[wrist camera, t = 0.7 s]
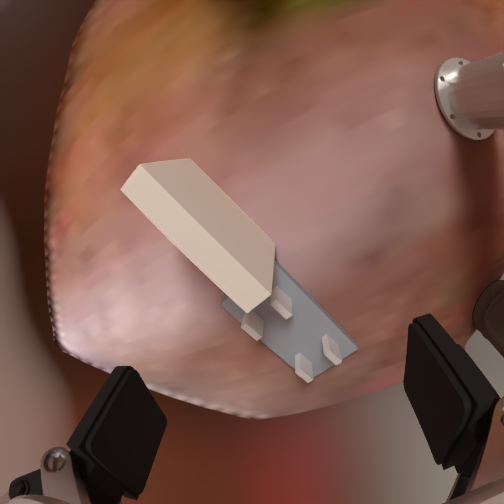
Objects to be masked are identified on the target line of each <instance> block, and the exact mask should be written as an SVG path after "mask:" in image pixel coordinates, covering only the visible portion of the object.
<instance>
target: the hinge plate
mask: <svg viewBox="0 0 504 504" xmlns="http://www.w3.org/2000/svg"><path fill="white" fill-rule="evenodd" d="M220 305H221V306H222V307H223V308H224V309H225V310H226V311H227V312H229V313H230V314H231V315H232V316H233V317H234V318H235V319H236V320H238V321H239V322H240V323H241V328H242V329H243V330H245V331H246V332H247V333H248V334H249V335H250V336H251V337H253V338H254V339H255V340H256V341H258V340H260V341H262V342H263V343H264V344H265V345H266V346H268V347H269V348H270V349H271V350H272V351H273V352H275V353H276V354H277V355H278V356H279V357H281V358H282V359H283V360H284V361H285V362H287V363H288V364H289V365H290V366H292V367H293V368H294V369H295V373H296V374H297V375H298V376H300V377H301V378H302V379H304V380H305V381H306V382H307V383H309V382H311V381H312V380H313V378H314V377H316V376H317V375H319V374H320V373H322V372H324V371H325V370H327V369H328V368H330V367H332V366H333V365H336V366H337V365H338V364H340V363H341V362H342V359H344V358H345V357H347V356H348V355H350V354H351V353H353V352H354V351H356V350H357V349H358V346H357V343H356V342H355V341H354V340H353V339H352V338H351V337H350V336H349V335H348V334H347V333H346V331H345V330H344V329H343V328H342V327H341V326H340V325H339V324H338V323H337V322H336V321H335V320H334V319H333V318H332V317H331V316H330V315H329V314H328V313H327V312H326V311H325V310H324V309H323V308H322V307H321V306H320V305H319V304H318V303H317V302H316V301H315V300H314V299H313V298H312V296H311V295H310V294H309V293H308V292H307V291H306V290H305V289H304V288H303V287H302V286H301V285H300V284H299V283H298V282H297V281H296V280H295V279H294V278H293V277H292V276H291V275H290V274H289V273H288V272H287V271H286V270H285V269H284V268H283V267H282V266H281V265H280V264H279V263H278V262H277V261H276V260H275V259H274V270H273V281H272V292H271V295H270V296H269V297H267V298H266V299H265V300H264V301H262V302H261V303H260V304H259V305H257V306H256V307H255V308H254V309H252V310H251V311H250V312H248V313H246V312H245V311H244V310H243V309H242V308H240V307H239V306H238V305H237V304H236V303H235V302H234V301H233V300H232V299H231V298H230V297H228V296H226V297H225V298H224V299H223V300H222V302H221V304H220Z"/></svg>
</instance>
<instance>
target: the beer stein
mask: <svg viewBox="0 0 504 504" xmlns="http://www.w3.org/2000/svg"><path fill="white" fill-rule="evenodd" d="M473 323H474V326H475V327H476V329H477V330H479V331H480V332H481V333H482V334H483V336H484V337H485V338H486V339H488V340H489V341H490V342H491V344H492V345H493V346H494V347H495V348H496V349H497V351H499V353H500V354H501V355H502V356H503V357H504V280H499V281H495V282H494V283H492V284H491V285H490V286H489V287H487V288H486V289H485V291H484V292H483V293H482V294H481V296H480V298H479V300H478V302H477V303H476V306H475V309H474V313H473Z"/></svg>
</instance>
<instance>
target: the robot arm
mask: <svg viewBox="0 0 504 504" xmlns="http://www.w3.org/2000/svg"><path fill="white" fill-rule="evenodd" d="M435 94H436V99H437V102H438V105H439V108H440V110H441V112H442V114H443V116H444V117H445V119H446V120H447V122H448V123H449V124H450V126H451V127H452V128H453V129H454V130H455V131H456V132H457V133H459V134H460V135H462V136H463V137H465V138H468V139H471V140H483V139H486V138H488V137H489V136H490V135H491V134H492V133H493V132H494V130H495V129H500V130H504V51H503V52H500V53H497V54H494V55H491V56H488V57H485V58H482V59H479V60H477V61H474V62H469V61H467V60H465V59H461V58H452V59H449V60H447V61H445V62H443V63H442V64H441V65H440V67H439V68H438V70H437V72H436V75H435ZM404 389H405V392H406V394H407V396H408V398H409V401H410V403H411V405H412V407H413V409H414V412H415V414H416V416H417V418H418V421H419V423H420V425H421V428H422V430H423V432H424V435H425V437H426V440H427V442H428V445H429V447H430V449H431V452H432V455H433V457H434V460H435V462H436V463H437V464H438V465H439V464H442V467H443V469H444V470H445V469H447V468H450V467H452V466H455V468H456V471H457V473H458V475H457V478H456V480H455V483H454V485H453V487H452V489H451V492H450V494H449V496H448V498H447V500H446V502H445V503H443V504H504V397H502V398H500V397H499V395H498V394H497V392H496V391H495V390H494V388H493V387H492V386H491V384H490V383H489V381H488V380H487V379H486V377H485V376H484V375H483V373H482V372H481V371H480V369H479V368H478V367H477V365H476V364H475V363H474V361H473V360H472V359H471V358H470V356H469V355H468V354H467V353H466V351H465V350H464V349H463V348H462V347H461V346H460V345H458V344H456V343H455V342H454V340H453V339H452V338H451V337H450V336H449V334H448V333H447V332H446V331H445V330H444V328H443V327H442V326H441V325H440V324H439V323H438V321H437V320H436V319H435V318H434V317H433V316H432V315H431V314H426V315H423V316H420V317H416V318H414V319H413V323H412V324H410V325H409V327H408V342H407V354H406V365H405V374H404ZM166 425H167V419H166V417H165V415H164V413H163V412H162V410H161V409H160V407H159V406H158V404H157V403H156V401H155V400H154V398H153V396H152V395H151V393H150V392H149V390H148V388H147V387H146V385H145V383H144V382H143V380H142V378H141V377H140V375H139V373H138V372H137V371H136V370H134V368H133V367H131V366H117V367H115V368H114V370H113V371H112V373H111V374H110V376H109V377H108V379H107V380H106V382H105V383H104V385H103V386H102V388H101V390H100V391H99V393H98V394H97V396H96V397H95V399H94V400H93V402H92V404H91V405H90V407H89V408H88V410H87V411H86V413H85V415H84V416H83V418H82V419H81V421H80V423H79V424H78V426H77V427H76V429H75V431H74V432H73V434H72V436H71V437H70V439H69V441H68V442H67V445H68V447H69V448H71V451H70V452H69V451H68V450H67V449H66V448H64V447H53V448H51V449H49V450H48V451H47V452H46V453H45V454H44V455H43V457H42V459H41V462H40V469H38V470H36V471H34V472H31V473H29V474H26V475H23V476H21V477H19V478H17V479H15V480H14V481H12V482H11V484H10V488H9V493H8V492H7V493H5V494H4V495H3V496H1V497H0V504H123V503H122V500H121V497H122V495H123V496H125V497H127V498H131V499H135V500H137V499H138V496H139V494H141V493H142V492H143V490H144V487H145V485H146V481H147V479H148V476H149V473H150V470H151V467H152V464H153V462H154V459H155V456H156V453H157V450H158V448H159V445H160V442H161V439H162V437H163V433H164V431H165V428H166Z"/></svg>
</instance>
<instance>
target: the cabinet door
mask: <svg viewBox="0 0 504 504" xmlns="http://www.w3.org/2000/svg"><path fill="white" fill-rule="evenodd" d="M121 191H122V192H123V193H124V194H125V195H126V196H127V197H128V198H129V199H130V200H131V201H132V202H133V203H134V204H135V205H136V206H137V207H138V208H139V209H140V211H141V212H142V213H143V214H144V215H145V216H146V217H147V218H148V219H149V220H150V221H151V222H152V223H153V224H154V225H155V226H156V227H157V228H158V229H159V230H160V231H161V232H162V233H163V234H164V235H165V236H166V237H167V238H168V239H169V240H170V241H171V242H172V243H173V244H174V245H175V246H176V247H177V248H178V249H179V250H180V251H181V252H182V253H183V254H184V255H185V256H186V257H187V258H188V259H189V260H190V261H192V262H193V263H194V264H195V265H196V266H197V267H198V268H199V269H200V270H201V271H202V272H203V273H204V274H205V275H206V276H207V277H208V278H209V279H210V280H211V281H212V282H213V283H215V284H216V285H217V286H218V287H219V288H220V289H221V290H222V291H223V292H224V293H225V294H226V295H227V296H228V297H230V298H231V299H232V300H233V301H234V302H235V303H236V304H237V305H238V306H239V307H240V308H242V309H243V310H244V311H245V312H246V313H248V312H250V311H251V310H252V309H254V308H255V307H256V306H257V305H259V304H260V303H261V302H262V301H264V300H265V299H266V298H267V297H269V296H270V295H271V292H272V281H273V270H274V258H275V245H276V244H275V243H274V242H273V241H272V240H271V239H270V238H269V237H268V236H267V235H266V234H265V233H264V232H263V231H262V230H261V229H260V228H259V227H258V226H257V225H256V224H255V223H254V222H253V221H252V220H251V219H250V218H249V217H248V216H247V215H246V214H245V213H244V212H243V211H242V210H241V209H240V208H239V207H238V206H237V205H236V204H235V203H234V202H233V201H232V200H231V199H230V198H229V197H228V196H227V195H226V194H225V193H224V192H223V191H222V190H221V189H220V188H219V187H218V186H217V185H216V184H215V183H214V182H213V181H212V180H211V179H210V178H209V177H208V176H207V175H206V174H205V173H204V172H203V171H202V170H201V169H200V168H199V167H198V166H197V165H196V164H195V163H194V162H193V161H192V160H191V159H190V158H187V159H177V160H168V161H159V162H151V163H144V164H139V165H138V167H137V168H136V169H135V171H134V172H133V173H132V175H131V176H130V177H129V179H128V180H127V181H126V183H125V184H124V185H123V187H122V188H121Z"/></svg>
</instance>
